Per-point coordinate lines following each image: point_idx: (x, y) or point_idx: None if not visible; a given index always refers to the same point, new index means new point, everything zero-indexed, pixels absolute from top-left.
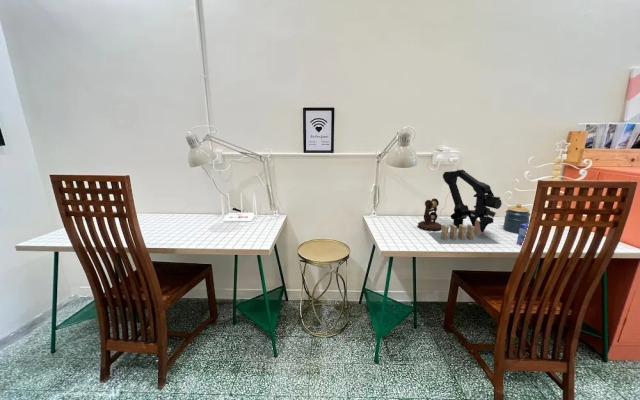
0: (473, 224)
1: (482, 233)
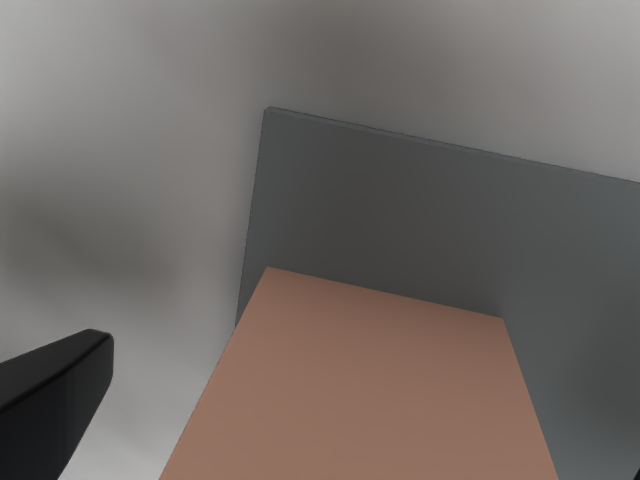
0: (53, 451)
1: (392, 169)
